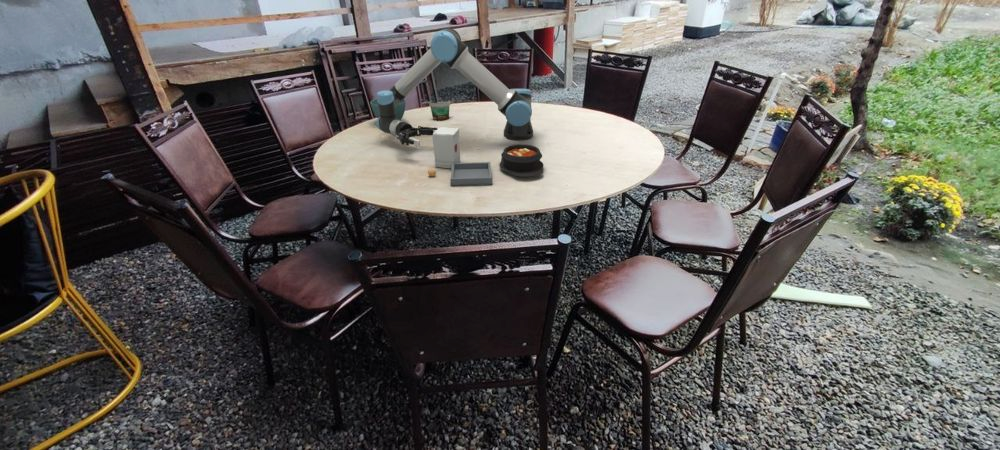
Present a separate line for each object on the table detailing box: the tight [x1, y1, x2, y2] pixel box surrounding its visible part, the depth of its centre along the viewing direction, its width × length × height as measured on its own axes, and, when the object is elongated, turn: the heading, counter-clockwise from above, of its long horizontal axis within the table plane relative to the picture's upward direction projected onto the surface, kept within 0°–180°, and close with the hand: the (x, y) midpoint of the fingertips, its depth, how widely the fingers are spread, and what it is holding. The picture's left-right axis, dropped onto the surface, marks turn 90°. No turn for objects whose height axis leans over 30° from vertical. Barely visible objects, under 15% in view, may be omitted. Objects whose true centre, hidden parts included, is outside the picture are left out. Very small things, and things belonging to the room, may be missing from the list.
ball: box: [427, 168, 437, 177], centre depth 170 cm, size 3×3×3 cm
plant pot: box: [370, 98, 406, 121], centre depth 228 cm, size 18×18×12 cm
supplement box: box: [432, 126, 461, 169], centre depth 178 cm, size 9×9×15 cm
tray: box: [450, 161, 493, 187], centre depth 169 cm, size 16×16×3 cm
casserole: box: [499, 143, 545, 178], centre depth 175 cm, size 25×19×8 cm
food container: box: [428, 99, 451, 122], centre depth 234 cm, size 12×6×10 cm, turn 117°
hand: (431, 140), depth 183 cm, fingers open, 13 cm apart
